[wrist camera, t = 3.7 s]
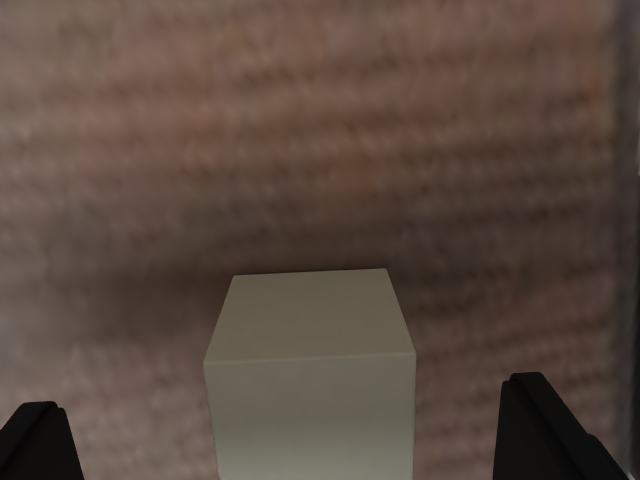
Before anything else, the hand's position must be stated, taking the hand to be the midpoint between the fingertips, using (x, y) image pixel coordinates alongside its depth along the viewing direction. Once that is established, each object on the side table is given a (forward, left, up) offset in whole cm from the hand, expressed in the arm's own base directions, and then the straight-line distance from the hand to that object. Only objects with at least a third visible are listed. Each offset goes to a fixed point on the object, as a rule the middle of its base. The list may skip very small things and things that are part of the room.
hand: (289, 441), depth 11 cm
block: (-1, 0, -5) cm, 5 cm away
